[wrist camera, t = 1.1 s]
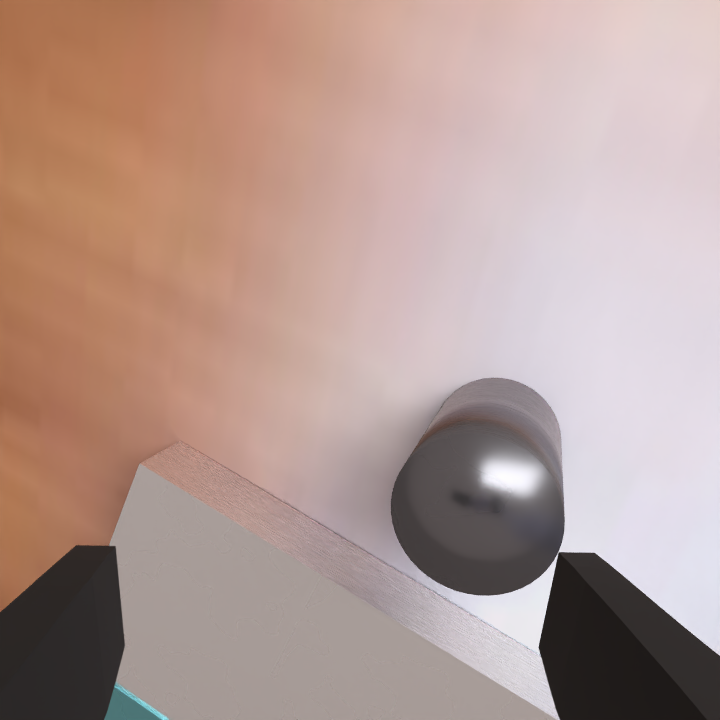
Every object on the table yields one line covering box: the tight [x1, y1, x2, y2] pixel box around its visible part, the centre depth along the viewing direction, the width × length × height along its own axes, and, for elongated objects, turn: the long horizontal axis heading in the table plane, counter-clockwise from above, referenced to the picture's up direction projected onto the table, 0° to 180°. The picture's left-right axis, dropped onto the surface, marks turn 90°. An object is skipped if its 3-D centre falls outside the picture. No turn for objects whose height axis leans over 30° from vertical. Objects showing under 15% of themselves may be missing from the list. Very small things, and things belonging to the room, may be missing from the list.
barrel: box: [391, 378, 565, 595], centre depth 18 cm, size 4×4×6 cm
